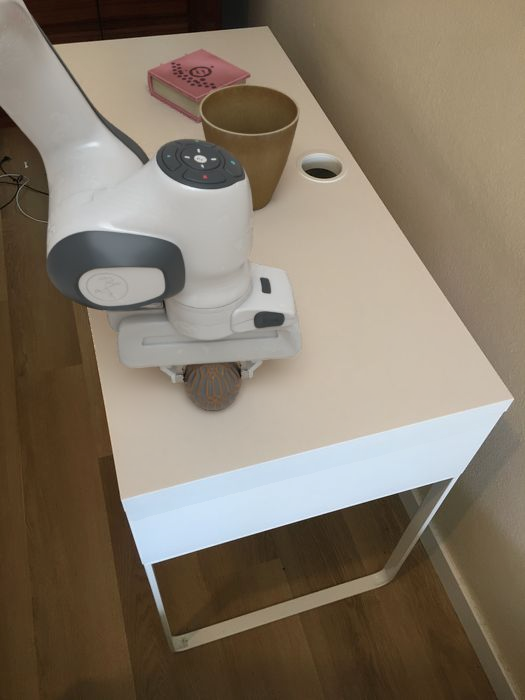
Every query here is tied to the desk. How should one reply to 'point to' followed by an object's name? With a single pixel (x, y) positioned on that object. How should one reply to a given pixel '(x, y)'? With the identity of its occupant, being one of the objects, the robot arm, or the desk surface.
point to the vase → (212, 384)
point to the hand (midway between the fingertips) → (212, 376)
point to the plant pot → (253, 132)
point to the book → (192, 80)
